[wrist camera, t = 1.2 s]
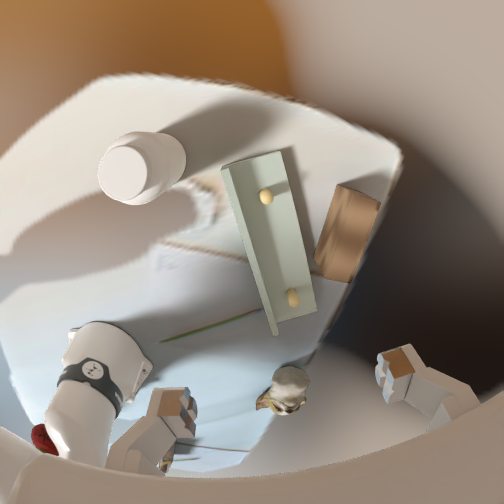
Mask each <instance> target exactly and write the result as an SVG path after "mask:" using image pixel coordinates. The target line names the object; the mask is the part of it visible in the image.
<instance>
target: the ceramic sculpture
mask: <svg viewBox="0 0 504 504" xmlns="http://www.w3.org/2000/svg"><path fill="white" fill-rule="evenodd" d="M272 382H273V385H272V386H271V388H270V390H268V391H266V392H265V393H263V394H261V395H260V396H259V397H258V399H257V401H256V410H259V409H261V408H267V407H269V406H270V408H271V410H272V411H273V412H274V413H276V414H278V415H291V414H293V413H295V412H296V411H298V410H299V408H300V406H301V405H303V404H304V403H305V402H306V398H305V389H306V388H307V387H308V385H309V383H310V380H309V378H308V376H307V374H306V373H305V372H304V371H303V370H301V369H299V368H296V367H293V366H286V367H283V368H279V369H277V370H276V371H275V373H274V374H273V378H272Z"/></svg>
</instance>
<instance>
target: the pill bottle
mask: <svg viewBox="0 0 504 504" xmlns="http://www.w3.org/2000/svg"><path fill="white" fill-rule="evenodd" d="M185 166H186V154H185V151H184V148H183V146H182V145H181V143H180V142H179V141H178V140H177V139H175V138H174V137H172V136H170V135H168V134H164V133H152V132H131V133H127V134H124V135H122V136H120V137H119V138H117V139H116V140H115V141H114V142H113V143H112V144H111V145H110V146H109V148H108V149H107V151H106V153H105V155H104V156H103V158H102V160H101V162H100V164H99V168H98V180H99V183H100V186H101V188H102V190H103V191H104V192H105V193H106V194H107V195H108V196H109V197H111V198H113V199H115V200H118V201H120V202H123V203H126V204H130V205H141V204H145V203H148V202H150V201H152V200H153V199H155V198H157V197H158V196H159V195H160V194H162V193H163V192H164V191H166V190H167V189H168V188H170V187H171V186H172V185H174V184H175V183H176V182H177V181H178V180H179V179H180V178H181V176H182V174H183V172H184V170H185Z"/></svg>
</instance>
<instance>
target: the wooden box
mask: <svg viewBox="0 0 504 504" xmlns="http://www.w3.org/2000/svg"><path fill="white" fill-rule="evenodd" d="M380 204H381V203H380V202H379V201H377V200H375V199H373V198H371V197H369V196H367V195H365V194H363V193H361V192H358V191H355V190H352V189H349V188H346V187H343V186H340V185H337V186H336V189H335V193H334V196H333V199H332V202H331V205H330V208H329V212H328V215H327V218H326V221H325V224H324V227H323V230H322V233H321V236H320V239H319V242H318V245H317V248H316V250H315V253H314V256H313V259H314V260H315V262H316V264H317V265H318V267H319V269H320V270H321V272H322V274H323V275H324V277H325V279H330V280H335V281H340V282H345V283H351V281H352V279H353V276H354V274H355V271H356V269H357V266H358V264H359V261H360V259H361V256H362V254H363V251H364V249H365V246H366V243H367V241H368V238H369V235H370V233H371V230H372V227H373V224H374V221H375V219H376V216H377V213H378V210H379V207H380Z"/></svg>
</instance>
